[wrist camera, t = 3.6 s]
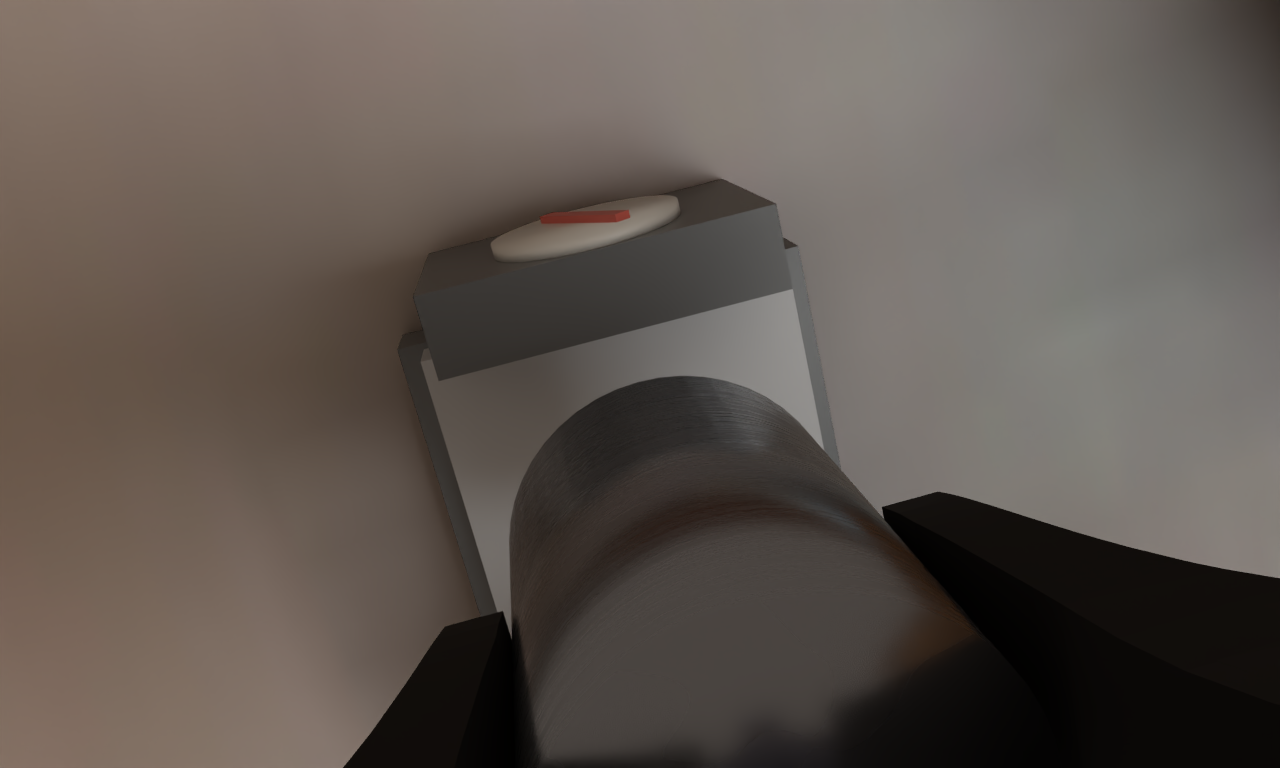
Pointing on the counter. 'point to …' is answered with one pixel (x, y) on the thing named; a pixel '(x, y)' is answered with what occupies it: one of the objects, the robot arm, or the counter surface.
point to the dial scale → (597, 339)
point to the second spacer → (736, 605)
